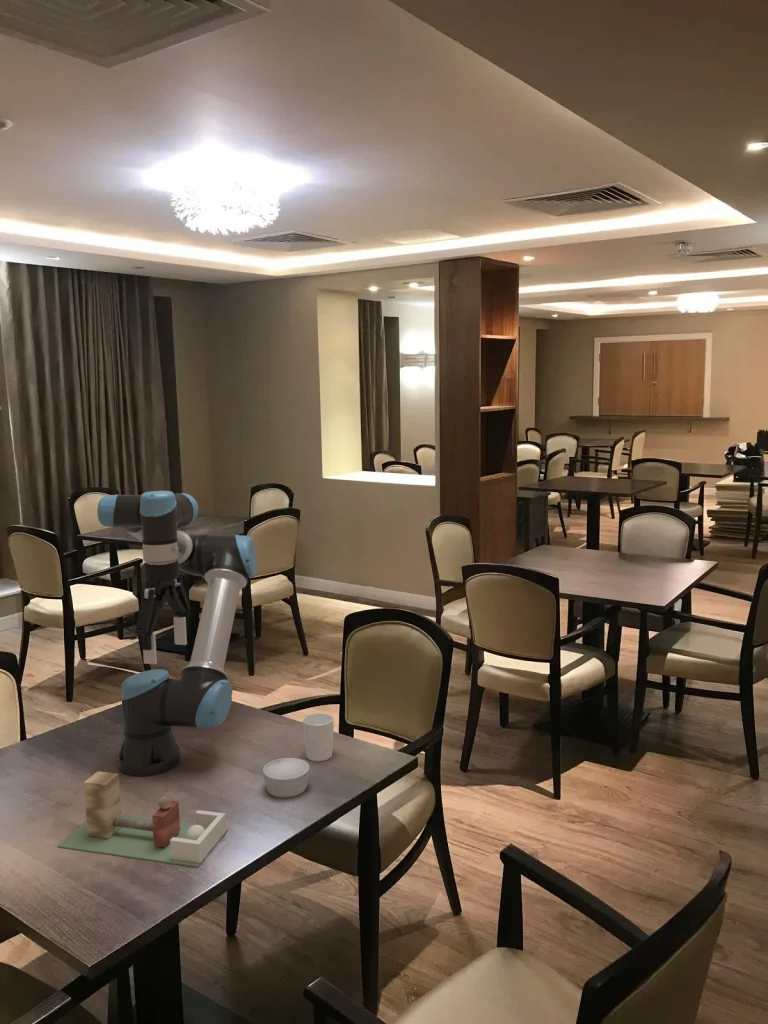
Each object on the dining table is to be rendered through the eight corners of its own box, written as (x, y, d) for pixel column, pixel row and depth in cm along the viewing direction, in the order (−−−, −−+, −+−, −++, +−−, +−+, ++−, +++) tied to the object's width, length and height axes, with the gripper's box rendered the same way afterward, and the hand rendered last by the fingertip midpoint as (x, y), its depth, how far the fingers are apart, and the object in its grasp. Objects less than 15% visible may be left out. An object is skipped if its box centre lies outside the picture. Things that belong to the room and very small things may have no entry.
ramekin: (285, 773, 196) (284, 753, 195) (320, 785, 190) (319, 764, 189) (253, 791, 187) (252, 770, 186) (288, 805, 181) (287, 783, 180)
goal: (170, 858, 160) (169, 840, 159) (198, 827, 171) (197, 810, 171) (200, 863, 158) (199, 844, 158) (226, 831, 170) (225, 813, 169)
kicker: (85, 837, 167) (81, 783, 166) (103, 821, 174) (99, 769, 172) (165, 848, 163) (161, 793, 161) (180, 831, 169) (177, 778, 167)
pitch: (57, 847, 165) (57, 845, 165) (97, 812, 178) (97, 811, 178) (197, 867, 157) (197, 865, 157) (228, 829, 171) (228, 828, 171)
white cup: (333, 762, 201) (332, 725, 200) (302, 762, 201) (301, 725, 200) (335, 748, 209) (334, 712, 208) (305, 749, 209) (304, 712, 208)
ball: (181, 830, 163) (199, 832, 162) (191, 820, 167) (208, 821, 166) (183, 848, 163) (201, 850, 162) (192, 838, 167) (210, 839, 166)
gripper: (146, 574, 164) (152, 673, 167) (202, 550, 188) (206, 638, 191) (114, 572, 165) (120, 670, 168) (173, 549, 189) (178, 636, 192)
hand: (166, 653), depth 180 cm, fingers open, 13 cm apart
